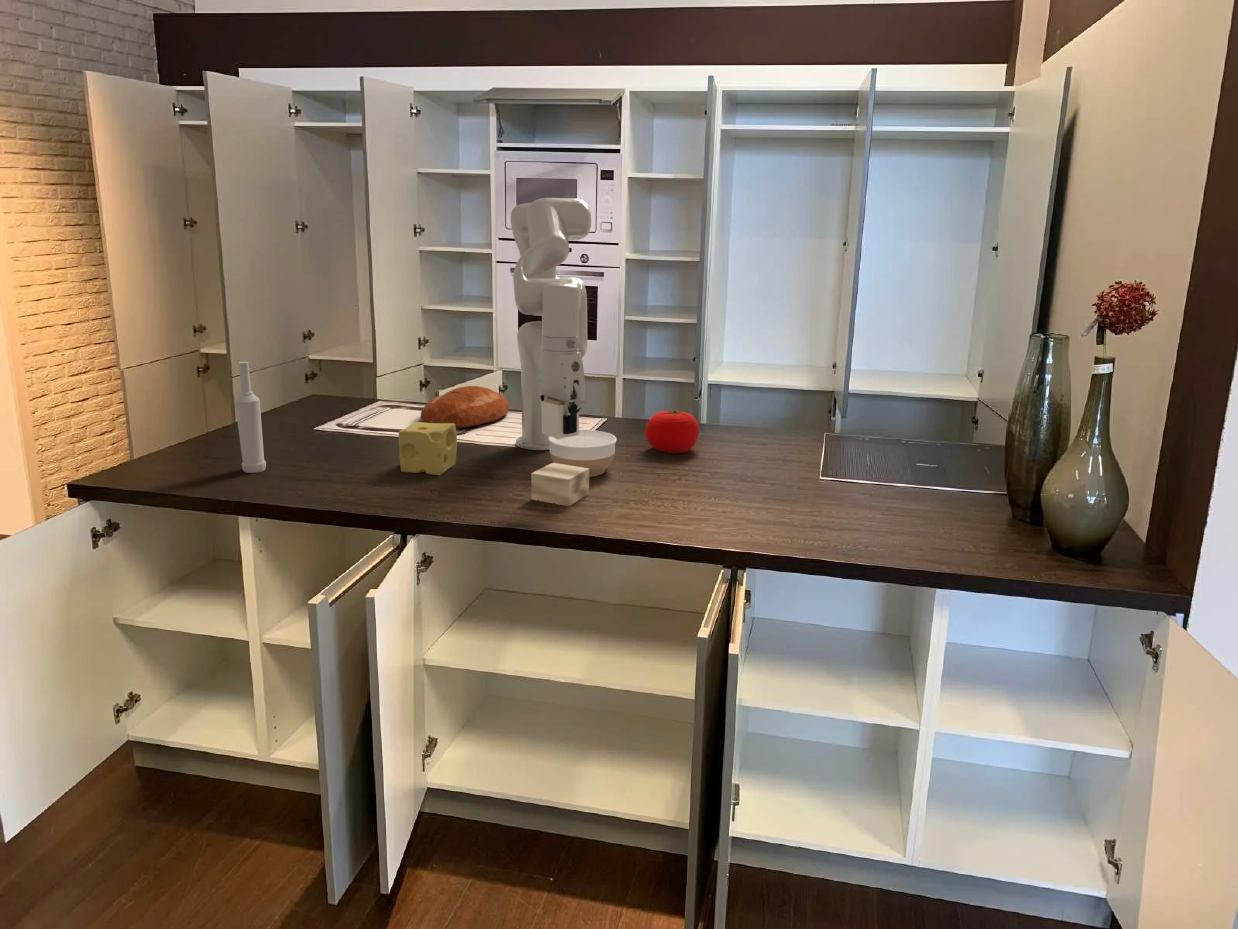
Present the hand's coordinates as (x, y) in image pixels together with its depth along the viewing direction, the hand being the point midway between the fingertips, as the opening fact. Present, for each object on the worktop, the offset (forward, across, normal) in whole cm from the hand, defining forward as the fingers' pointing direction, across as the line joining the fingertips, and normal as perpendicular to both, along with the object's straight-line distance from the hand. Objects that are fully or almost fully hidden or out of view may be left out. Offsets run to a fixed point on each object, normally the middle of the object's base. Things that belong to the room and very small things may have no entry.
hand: (560, 429), depth 189 cm
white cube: (+1, 0, 0) cm, 1 cm away
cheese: (+15, +36, +11) cm, 41 cm away
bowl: (+15, +12, -16) cm, 25 cm away
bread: (+15, +72, -23) cm, 77 cm away
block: (+15, 0, 0) cm, 15 cm away
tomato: (+15, +11, -45) cm, 49 cm away
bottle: (+15, +59, +43) cm, 75 cm away
